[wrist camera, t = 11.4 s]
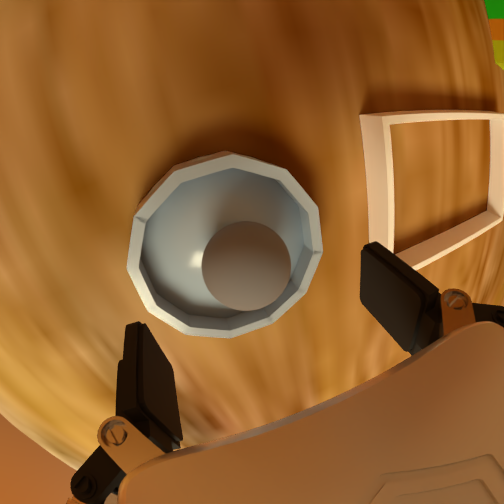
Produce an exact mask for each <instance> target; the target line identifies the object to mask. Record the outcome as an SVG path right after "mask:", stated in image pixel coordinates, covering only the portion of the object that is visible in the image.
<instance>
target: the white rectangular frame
mask: <svg viewBox="0 0 504 504" xmlns="http://www.w3.org/2000/svg"><path fill="white" fill-rule="evenodd" d="M359 117H360V124H361V132H362V140H363V149H364V158H365V169H366V181H367V196H368V218H369V243H372V242H374V241H377V242H379V243H380V244H381V245H383V246H384V247H385V248H387V249H388V250H390V251H391V252H392V253H393V249H394V177H393V159H392V146H391V135H390V126H389V124H399V123H409V122H422V121H437V120H459V119H490V178H489V192H488V202H487V211H485V212H483V213H481V214H479V215H477V216H475V217H473V218H471V219H469V220H467V221H465V222H463V223H461V224H459V225H457V226H455V227H453V228H451V229H449V230H447V231H445V232H443V233H440V234H438V235H436V236H434V237H432V238H430V239H428V240H426V241H423V242H421V243H419V244H417V245H415V246H412V247H410V248H408V249H406V250H404V251H401V252H399V253H397V254H395V255H396V256H398V257H399V258H400V259H401V260H403V261H404V262H405V263H407V264H408V265H409V266H411V267H412V268H413V269H414V270H418V269H420V268H422V267H424V266H425V265H427V264H429V263H431V262H433V261H435V260H437V259H439V258H440V257H442V256H444V255H446V254H448V253H449V252H451V251H453V250H455V249H457V248H458V247H460V246H462V245H464V244H465V243H467V242H469V241H470V240H472V239H474V238H475V237H477V236H479V235H480V234H482V233H484V232H485V231H487V230H489V229H490V228H492V227H493V226H495V225H497V224H498V223H500V222H501V221H502V219H503V213H504V114H503V113H498V112H493V111H479V110H414V111H396V112H383V113H372V114H362V115H359Z"/></svg>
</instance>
